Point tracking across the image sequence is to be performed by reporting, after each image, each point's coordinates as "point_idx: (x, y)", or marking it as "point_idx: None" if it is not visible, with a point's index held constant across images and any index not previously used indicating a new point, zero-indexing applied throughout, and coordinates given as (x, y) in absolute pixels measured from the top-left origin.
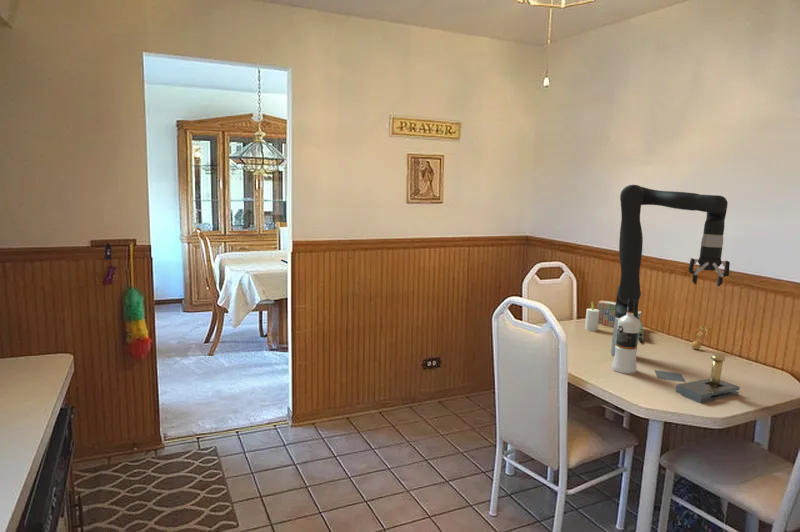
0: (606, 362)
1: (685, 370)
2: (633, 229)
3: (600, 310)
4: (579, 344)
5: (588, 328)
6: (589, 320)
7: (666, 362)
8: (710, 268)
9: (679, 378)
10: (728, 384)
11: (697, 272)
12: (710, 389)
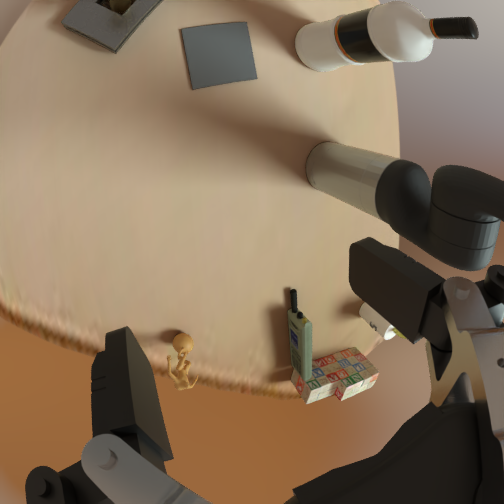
0: (350, 91)
1: (183, 134)
2: None
3: (367, 364)
4: None
5: None
6: None
7: (231, 175)
8: (381, 490)
9: (196, 46)
10: (84, 19)
11: (465, 310)
12: None
